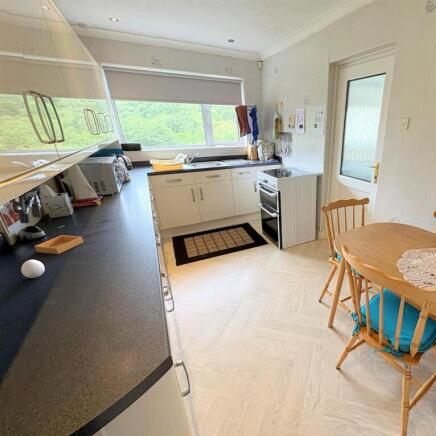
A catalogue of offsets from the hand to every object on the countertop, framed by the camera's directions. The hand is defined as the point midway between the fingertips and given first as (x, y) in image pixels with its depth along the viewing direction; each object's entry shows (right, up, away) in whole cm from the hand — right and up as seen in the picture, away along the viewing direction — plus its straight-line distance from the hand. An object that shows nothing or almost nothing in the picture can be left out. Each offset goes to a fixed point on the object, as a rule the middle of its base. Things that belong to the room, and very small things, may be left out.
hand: (31, 219), depth 89 cm
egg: (-2, -23, +4) cm, 24 cm away
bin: (-15, -14, +26) cm, 33 cm away
